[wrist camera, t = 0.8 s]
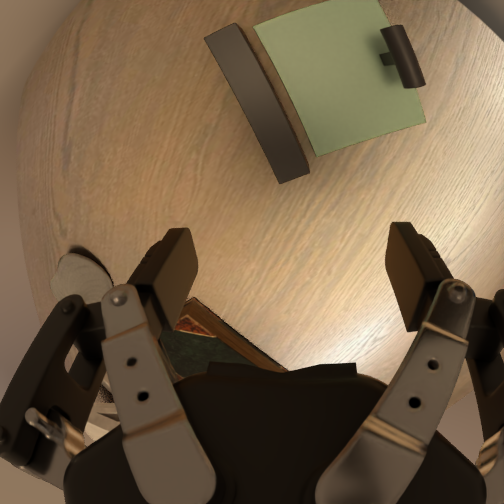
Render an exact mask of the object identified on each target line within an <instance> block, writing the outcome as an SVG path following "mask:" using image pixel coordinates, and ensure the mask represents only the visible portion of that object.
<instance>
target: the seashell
mask: <svg viewBox="0 0 504 504" xmlns="http://www.w3.org/2000/svg"><path fill="white" fill-rule="evenodd" d="M50 288H51V291H52V293H53V295H54V297H55V298H56V299H57V301H60V300H62V299H63V298H65V297H66V296H69V295H72V294H78V295H80V296H82V298H83V300H84V301H85V303H86V304H91V303H96V302H100V301H101V299H102V297H103V295H104V294H105V293H106V292H107V291H108V290H110V289H111V288H113V285H112V281H111V279H110V277H109V276H108V274H107V273H106V272H105V270H104V269H103V268H102V267H101V266H99V265H98V264H97V263H95V262H94V261H93V260H91V259H89V258H88V257H85V256H82V255H79V254H76V253H69V254H66V255H63V256H62V257H61V259H60V260H59V262H58V268H57V272H56V273H55V275H54V276H53V278H52V280H51V281H50Z"/></svg>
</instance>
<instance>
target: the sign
mask: <svg viewBox="0 0 504 504" xmlns="http://www.w3.org/2000/svg"><path fill="white" fill-rule="evenodd" d="M253 28H254V30H255V32H256V33H257V35H258V37H259V39H260V40H261V42H262V44H263V46H264V48H265V49H266V51H267V53H268V55H269V57H270V59H271V61H272V62H273V64H274V66H275V68H276V70H277V72H278V74H279V76H280V78H281V80H282V82H283V84H284V86H285V88H286V90H287V92H288V94H289V96H290V98H291V100H292V103H293V105H294V107H295V109H296V111H297V113H298V115H299V118H300V120H301V122H302V124H303V127H304V129H305V131H306V133H307V136H308V138H309V140H310V143H311V145H312V147H313V150H314V152H315V155H316V157H319V156H322V155H325V154H327V153H330V152H333V151H336V150H339V149H342V148H345V147H348V146H351V145H354V144H357V143H360V142H363V141H366V140H369V139H372V138H375V137H378V136H381V135H385V134H388V133H391V132H395V131H398V130H401V129H405V128H408V127H412V126H415V125H419V124H422V123H426V120H425V116H424V113H423V109H422V106H421V102H420V99H419V96H418V93H417V90H416V88H418V87H422V86H425V85H426V83H425V80H424V77H423V74H422V71H421V68H420V66H419V63H418V60H417V58H416V55H415V53H414V50H413V48H412V45H411V43H410V41H409V38H408V36H407V34H406V32H405V29H404V27H403V25H394V26H390V23H389V21H388V19H387V17H386V15H385V13H384V12H383V10H382V8H381V6H380V4H379V2H378V0H329V1H325V2H322V3H318V4H315V5H311V6H308V7H305V8H302V9H298V10H295V11H292V12H289V13H287V14H284V15H281V16H278V17H276V18H273V19H270V20H268V21H265V22H263V23H260V24H258V25H255V26H253Z"/></svg>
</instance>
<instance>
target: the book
mask: <svg viewBox="0 0 504 504" xmlns="http://www.w3.org/2000/svg"><path fill="white" fill-rule="evenodd" d="M160 339H161V341H162V343H163V346H164V348H165V350H166V353H167V355H168V357H169V359H170V362H171V364H172V366H173V368H174V370H175V372H176V375H177V377H178V378H179V380H181V379H183V378H186V377H188V376H191V375H194V374H197V373H201V372H207V369H208V365H209V361H212V362H226V363H244V364H248V365H251V366H255V367H259V368H263V369H267V370H271V371H275V372H282V373H283V372H288V371H287V370H286V369H284V368H283V367H282V366H280V365H279V364H278V363H276V362H275V361H274V360H272V359H271V358H270V357H268V356H267V355H266V354H264V353H263V352H262V351H260V350H259V349H258V348H256V347H255V346H254V345H252V344H251V343H250V342H249V341H247V340H246V339H245V338H243V337H242V336H241V335H239V334H238V333H237V332H236V331H234V330H233V329H232V328H231V327H229V326H228V325H227V324H226V323H224V322H223V321H222V320H221V319H219V318H218V317H217V316H216V315H214V314H213V313H212V312H211V311H209V310H208V309H207V308H206V307H205V306H203V305H202V304H201V303H200V302H198V301H197V300H196V299H195V298H192V299H191V300H189V301H188V302H186V303H185V304H184V306H183V309H182V311H181V314H180V316H179V319H178V321H177V324H176V326H175V329H174V331H173V332H161V335H160Z"/></svg>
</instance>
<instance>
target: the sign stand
mask: <svg viewBox="0 0 504 504" xmlns="http://www.w3.org/2000/svg"><path fill="white" fill-rule="evenodd" d="M204 40H205V42H206V43H207V45H208V47H209V49H210V50H211V52H212V54H213V56H214V57H215V59H216V61H217V63H218V65H219V66H220V68H221V70H222V72H223V74H224V76H225V77H226V79H227V81H228V83H229V85H230V87H231V88H232V90H233V92H234V94H235V96H236V98H237V100H238V102H239V104H240V105H241V107H242V109H243V111H244V113H245V115H246V117H247V119H248V121H249V123H250V125H251V127H252V129H253V131H254V133H255V135H256V137H257V139H258V141H259V143H260V145H261V147H262V149H263V151H264V153H265V155H266V157H267V159H268V161H269V163H270V165H271V168H272V170H273V172H274V174H275V176H276V178H277V180H278V182H279V184H282V183H284V182H287V181H290V180H292V179H295V178H298V177H301V176H303V175H306V174H309V173H310V169H309V164H308V161H307V159H306V157H305V154H304V152H303V150H302V147H301V145H300V143H299V141H298V138H297V136H296V134H295V132H294V129H293V127H292V125H291V123H290V121H289V119H288V117H287V114H286V112H285V110H284V108H283V106H282V104H281V102H280V100H279V98H278V96H277V94H276V92H275V90H274V88H273V86H272V84H271V82H270V80H269V78H268V76H267V74H266V72H265V70H264V68H263V66H262V65H261V63H260V61H259V59H258V57H257V55H256V53H255V52H254V50H253V48H252V46H251V44H250V43H249V41H248V39H247V37H246V36H245V34H244V32H243V30H242V29H241V28H240V27H239V26H238V25H237V24H236V23H233V24H231V25H229V26H227V27H225V28H222V29H220V30H218V31H216V32H214V33H212V34H211V35H209V36H207V37H205V38H204Z"/></svg>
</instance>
